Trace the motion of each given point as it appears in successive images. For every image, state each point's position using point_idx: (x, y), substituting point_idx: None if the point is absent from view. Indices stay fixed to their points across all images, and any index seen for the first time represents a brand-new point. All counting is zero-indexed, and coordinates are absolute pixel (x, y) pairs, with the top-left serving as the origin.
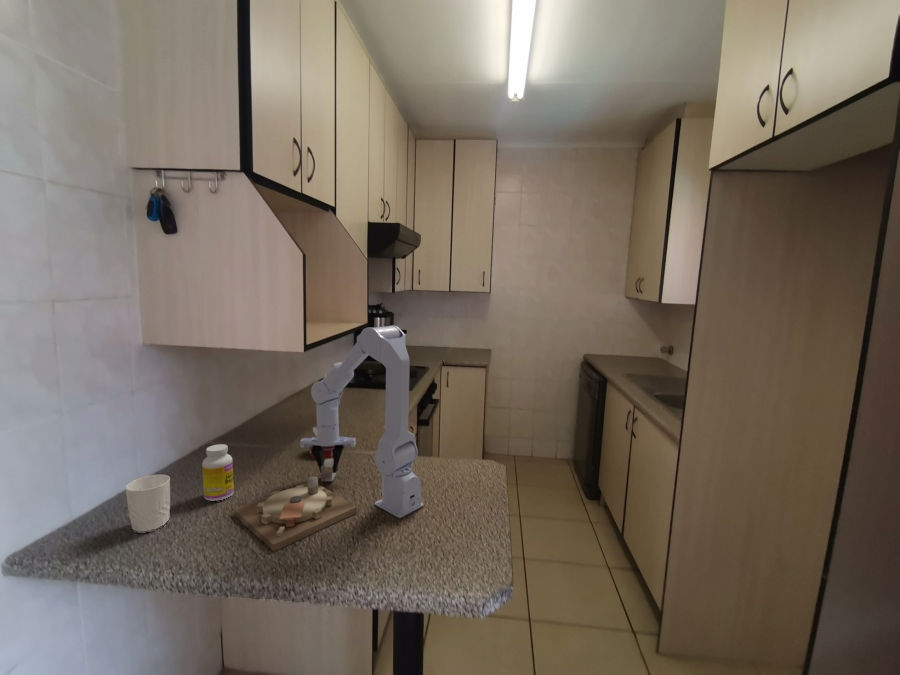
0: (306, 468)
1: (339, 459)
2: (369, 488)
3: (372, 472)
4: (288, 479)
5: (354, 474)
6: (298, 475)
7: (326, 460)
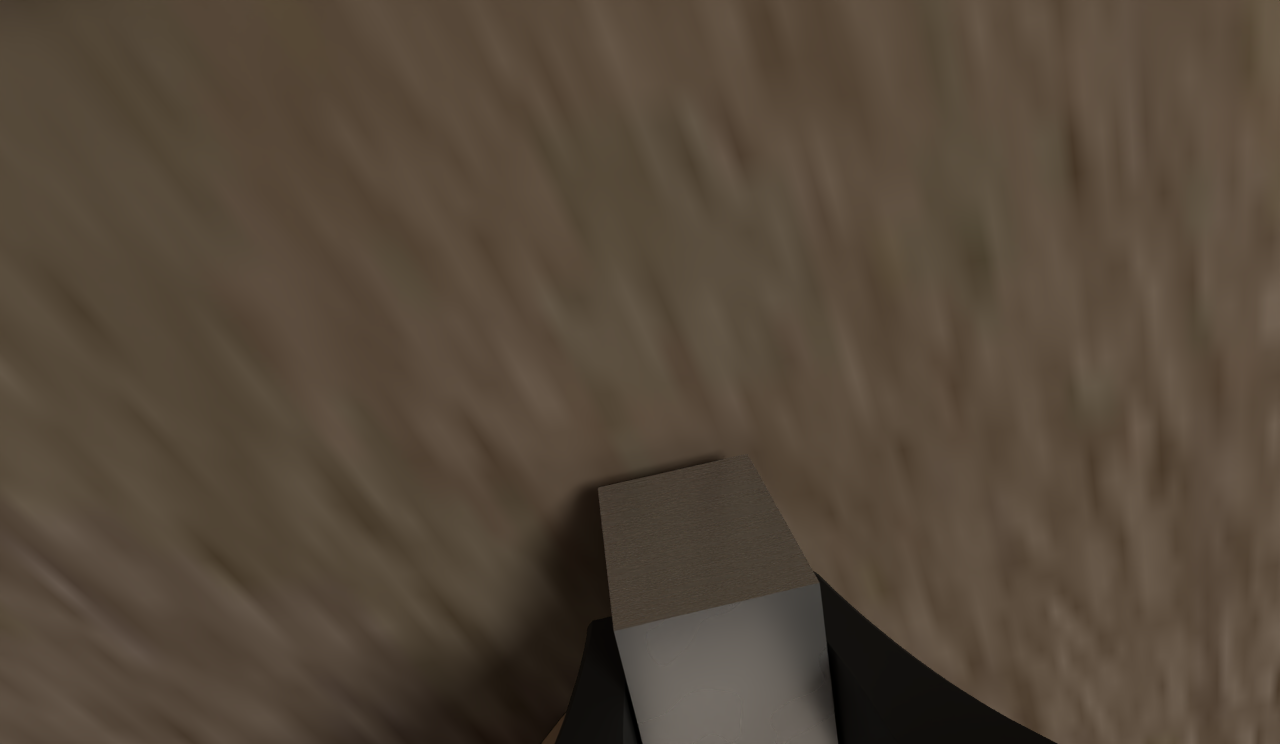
0: (153, 307)
1: (913, 658)
2: (1168, 626)
3: (1191, 259)
4: (164, 652)
5: (960, 362)
6: (210, 536)
7: (661, 683)
